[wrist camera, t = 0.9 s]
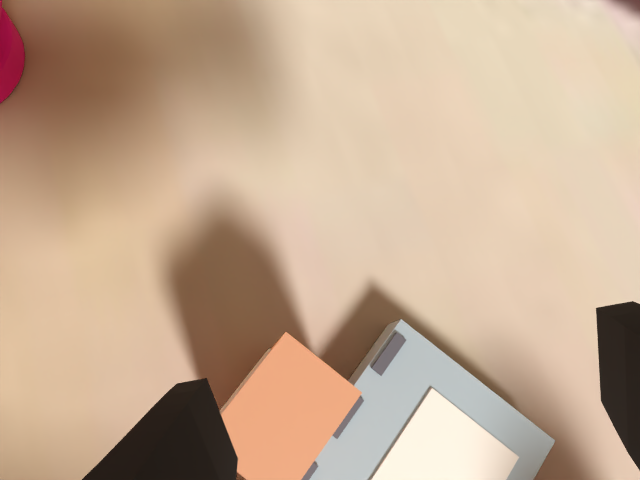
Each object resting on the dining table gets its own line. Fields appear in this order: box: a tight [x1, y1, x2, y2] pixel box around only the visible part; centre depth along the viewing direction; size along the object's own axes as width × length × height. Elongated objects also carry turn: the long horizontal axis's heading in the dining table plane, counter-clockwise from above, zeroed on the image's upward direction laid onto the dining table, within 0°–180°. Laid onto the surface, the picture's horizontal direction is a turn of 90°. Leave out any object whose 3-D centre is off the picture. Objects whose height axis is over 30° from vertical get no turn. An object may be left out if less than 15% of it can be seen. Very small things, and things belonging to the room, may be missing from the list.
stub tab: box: [220, 332, 362, 480], centre depth 19 cm, size 4×3×7 cm
